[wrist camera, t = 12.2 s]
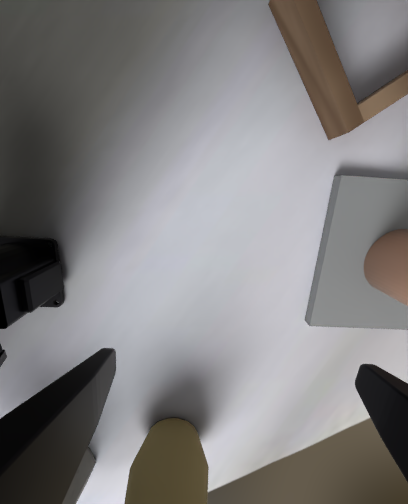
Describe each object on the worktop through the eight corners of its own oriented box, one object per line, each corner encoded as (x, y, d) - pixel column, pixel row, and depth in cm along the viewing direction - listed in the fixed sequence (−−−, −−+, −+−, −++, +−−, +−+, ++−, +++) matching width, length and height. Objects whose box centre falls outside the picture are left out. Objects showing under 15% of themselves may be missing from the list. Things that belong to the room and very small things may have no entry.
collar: (328, 140, 18) (348, 132, 16) (268, 4, 16) (281, -30, 13) (451, 59, 17) (494, 37, 14) (407, -102, 14) (449, -160, 12)
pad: (304, 320, 23) (309, 326, 22) (334, 176, 19) (341, 175, 18) (435, 325, 23) (445, 331, 22) (488, 186, 20) (503, 186, 19)
